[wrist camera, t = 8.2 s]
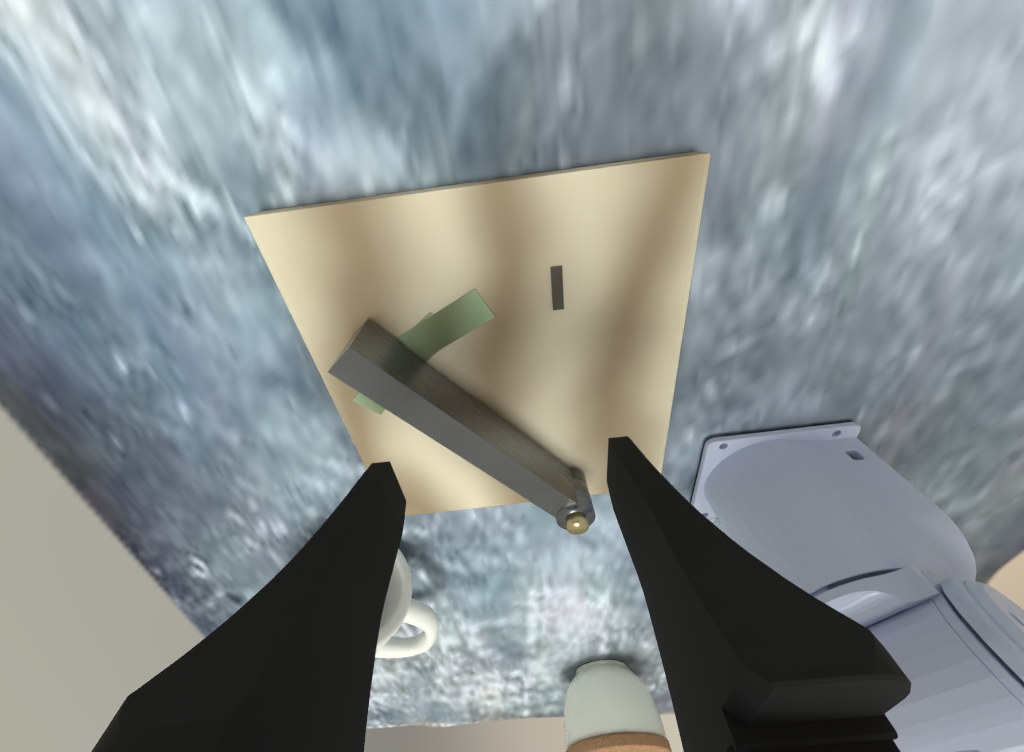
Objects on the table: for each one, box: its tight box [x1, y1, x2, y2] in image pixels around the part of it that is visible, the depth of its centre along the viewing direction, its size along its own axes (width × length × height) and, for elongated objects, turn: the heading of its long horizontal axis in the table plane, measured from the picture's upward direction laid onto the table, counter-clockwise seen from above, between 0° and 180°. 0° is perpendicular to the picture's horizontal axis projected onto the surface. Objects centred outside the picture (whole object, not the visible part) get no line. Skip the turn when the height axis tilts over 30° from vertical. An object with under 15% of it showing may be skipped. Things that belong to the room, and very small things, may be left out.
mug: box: [375, 549, 439, 658], centre depth 27 cm, size 12×10×8 cm
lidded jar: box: [564, 660, 672, 752], centre depth 40 cm, size 11×11×9 cm
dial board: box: [244, 151, 711, 516], centre depth 20 cm, size 18×19×1 cm
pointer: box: [328, 319, 595, 535], centre depth 19 cm, size 2×16×3 cm, turn 45°
